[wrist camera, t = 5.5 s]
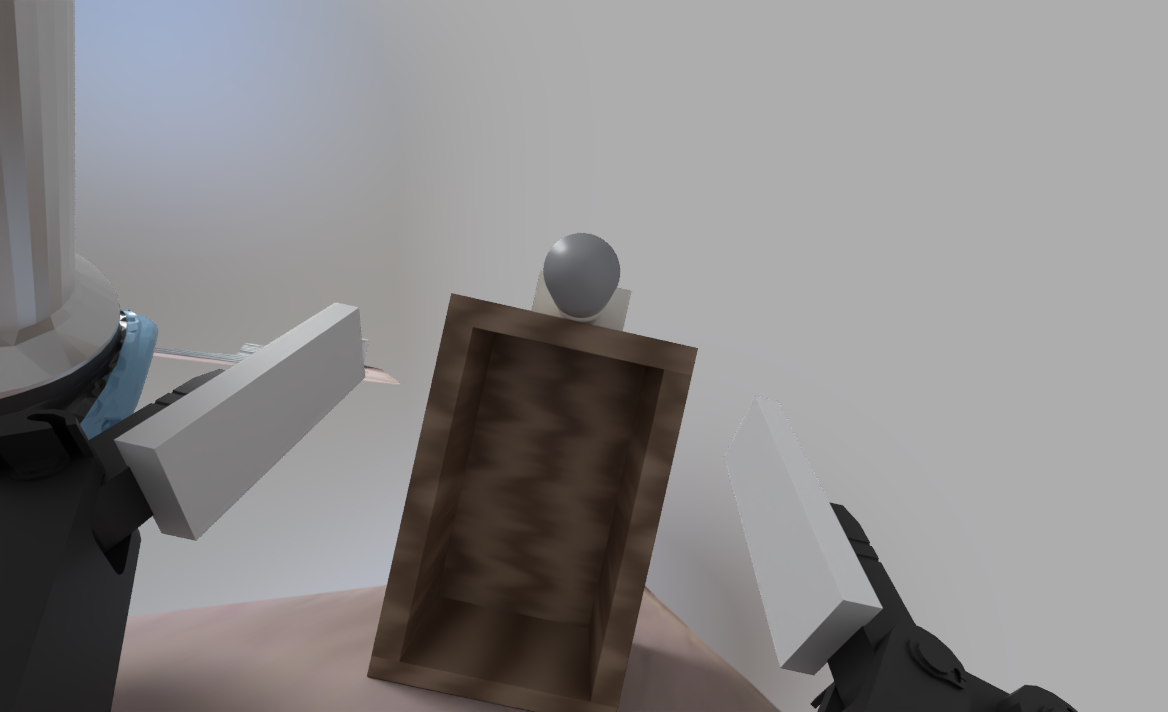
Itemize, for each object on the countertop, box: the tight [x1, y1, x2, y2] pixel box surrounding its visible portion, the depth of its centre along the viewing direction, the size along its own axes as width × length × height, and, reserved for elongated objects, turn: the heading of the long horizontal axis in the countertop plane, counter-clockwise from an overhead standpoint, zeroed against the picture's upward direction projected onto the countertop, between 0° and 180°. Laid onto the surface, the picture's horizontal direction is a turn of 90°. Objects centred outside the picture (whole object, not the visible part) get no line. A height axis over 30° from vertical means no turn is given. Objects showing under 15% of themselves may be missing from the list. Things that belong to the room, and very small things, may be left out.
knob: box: [531, 233, 631, 331], centre depth 31 cm, size 18×8×4 cm, turn 0°
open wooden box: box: [367, 294, 698, 712], centre depth 35 cm, size 18×10×28 cm, turn 90°
